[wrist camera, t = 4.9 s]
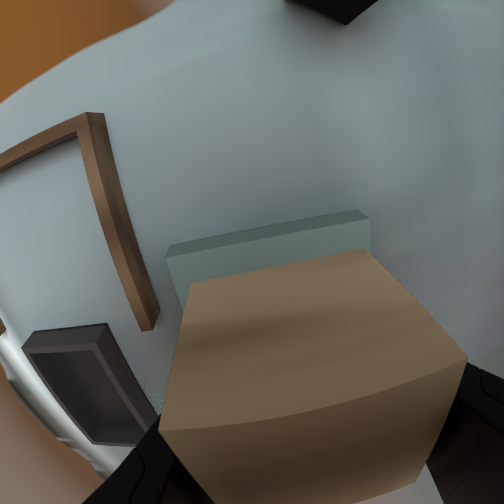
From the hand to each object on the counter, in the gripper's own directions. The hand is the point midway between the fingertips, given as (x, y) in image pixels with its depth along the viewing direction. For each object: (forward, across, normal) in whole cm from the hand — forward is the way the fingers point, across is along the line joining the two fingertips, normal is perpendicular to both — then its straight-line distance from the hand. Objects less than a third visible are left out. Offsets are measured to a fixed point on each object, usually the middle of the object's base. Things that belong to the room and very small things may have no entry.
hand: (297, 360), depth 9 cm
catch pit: (+12, +17, +11) cm, 23 cm away
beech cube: (+1, 0, 0) cm, 1 cm away
